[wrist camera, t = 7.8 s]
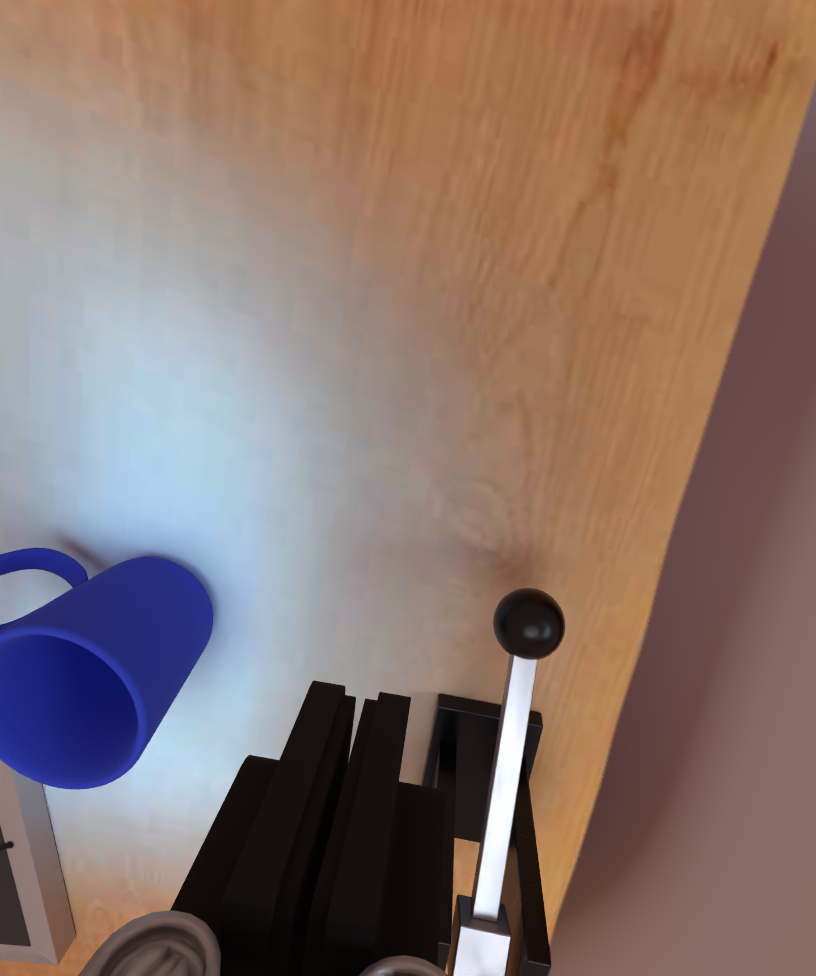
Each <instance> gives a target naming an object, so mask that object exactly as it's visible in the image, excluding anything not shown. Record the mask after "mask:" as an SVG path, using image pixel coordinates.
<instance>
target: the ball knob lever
mask: <svg viewBox="0 0 816 976" xmlns="http://www.w3.org/2000/svg"><path fill="white" fill-rule="evenodd" d="M493 627H494V632H495V635H496V638H497V640H498V642H499V643H500V645H501V646H502V647H503V648H504V649H505V650H506V651H507V652H508V653H509V654H510V658H509V664H508V670H507V677H506V683H505V689H504V695H503V702H502V708H501V714H500V721H499V727H498V733H497V740H496V746H495V752H494V759H493V765H492V771H491V778H490V784H489V790H488V796H487V803H486V809H485V815H484V822H483V828H482V834H481V841H480V847H479V853H478V860H477V866H476V872H475V878H474V885H473V891H472V897H468V896H463V895H457V899H456V905H455V911H454V918H453V924H452V935H451V948H450V952H449V956H448V960H447V964H448V976H506V972H507V965H508V958H509V952H510V945H511V939H512V936H511V931H510V927H509V922H508V918H507V913H506V908H505V905H504V904H503V903H500V901H501V894H502V888H503V881H504V875H505V868H506V862H507V856H508V849H509V843H510V836H511V830H512V823H513V817H514V810H515V804H516V797H517V791H518V784H519V778H520V771H521V765H522V758H523V752H524V745H525V739H526V732H527V726H528V719H529V713H530V707H531V700H532V694H533V687H534V681H535V674H536V668H537V661H538V660H539V659H542V658H545V657H547V656H549V655H550V654H552V653H553V652H554V651H555V650H556V649H557V648H558V646H559V645H560V643H561V642H562V639H563V637H564V633H565V619H564V615H563V612H562V610H561V608H560V606H559V604H558V603H557V602H556V601H555V600H554V599H553V598H552V597H551V596H550V595H548V594H547V593H545V592H543V591H541V590H538V589H533V588H523V589H518V590H515V591H513V592H511V593H509V594H508V595H506V596H505V597H504V598H503V599H502V600H501V601H500V603H499V604H498V606H497V608H496V610H495V613H494V619H493Z"/></svg>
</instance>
